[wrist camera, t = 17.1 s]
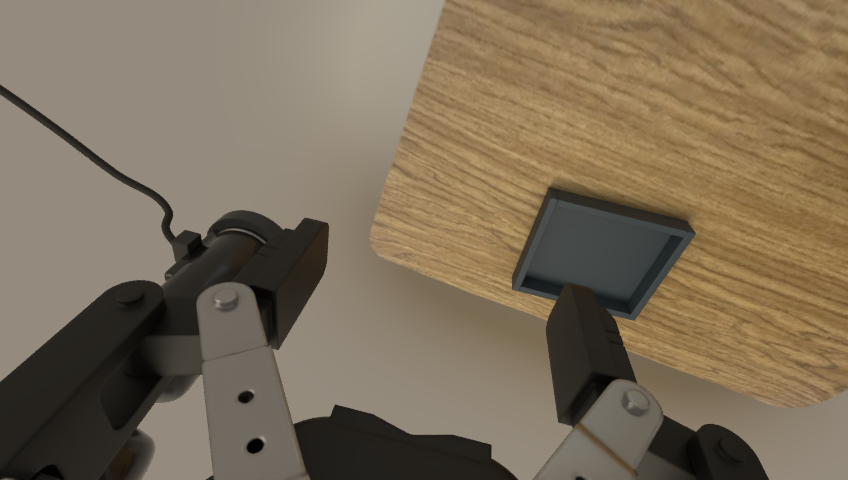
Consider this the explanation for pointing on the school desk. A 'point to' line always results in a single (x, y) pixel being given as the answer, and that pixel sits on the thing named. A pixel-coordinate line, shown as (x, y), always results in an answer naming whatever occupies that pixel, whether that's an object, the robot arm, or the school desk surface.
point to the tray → (599, 251)
